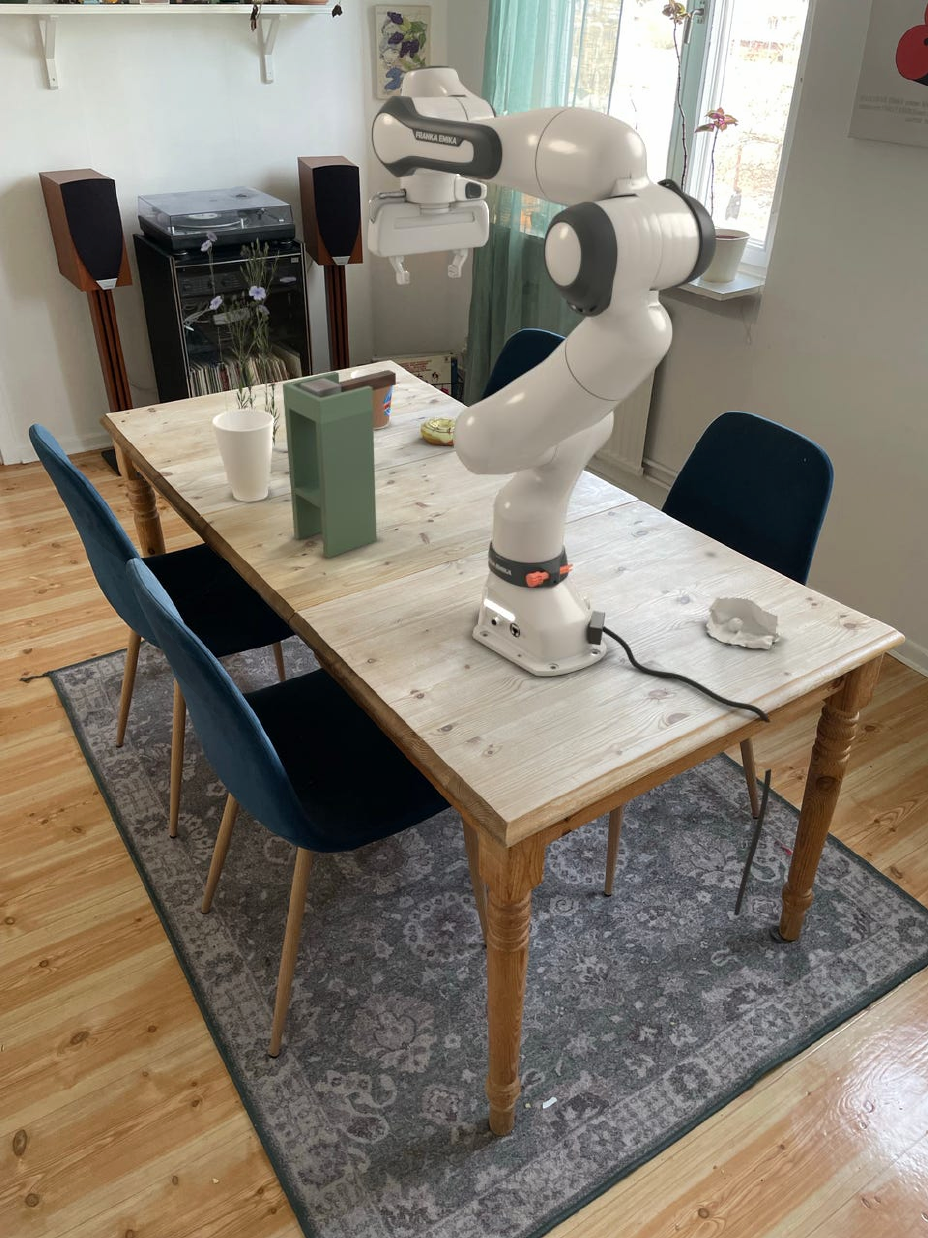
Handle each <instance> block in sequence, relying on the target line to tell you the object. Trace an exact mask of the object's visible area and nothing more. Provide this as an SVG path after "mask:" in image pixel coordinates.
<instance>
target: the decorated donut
mask: <svg viewBox="0 0 928 1238" xmlns="http://www.w3.org/2000/svg"><path fill="white" fill-rule="evenodd" d="M456 420H457V419H455V418H450V417H433V418H430V419H428V420H426V421H424V422H423V423H422V424H421V425H420V433H421V435H422V437H423V438H424V440H426V441H427V442H428V443H430V444H433V445H443V446H447V445H448V446H452V445H453V446H454V442H453V431H454V426H455V423H456Z"/></svg>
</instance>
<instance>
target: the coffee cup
mask: <svg viewBox="0 0 928 1238" xmlns="http://www.w3.org/2000/svg"><path fill="white" fill-rule="evenodd" d="M386 370H387V369H385V368H378V367H377V368H375V367H373V368H372V367H371V368H367V367H366V368H361V369H357V370H354V371H352V372H351V373H350V374H349V377H350V379H354V378H358V377H362V376H366V375H370V374H374V373H378V372H382V371H386ZM393 387H394V385H393V386H389V387H385V388H381V389H377V390H373V391H372V392H373V428H374V430H382V429H385V428H386V427H387V426H388V425H389V420H390V414H391V406H392V398H393V397H392V395H393Z"/></svg>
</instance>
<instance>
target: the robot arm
mask: <svg viewBox="0 0 928 1238" xmlns="http://www.w3.org/2000/svg"><path fill="white" fill-rule="evenodd" d="M371 144H372V149H373V151H374V154H375V156H376V158H377V159H378V160H379V163H381V165H382V166H383V167H384V168H385V169H386V170H387V171H388V172H389V173H390V174H392V176H394V177H395V178H399V179H400V182H399V183H400V188H398V189H397V188H396V189H390V190H383V189H382V190H378V191H376V193H375V194H373V195H372V196H371V198H370V199H369V201H368V205H367V206H368V207H367V208H368V217H369V220H368V227H367V228H368V229H367V248H368V250H369V251H370V253H371V254H372V255H374V256H376V257H379V258H388V257H389V262H390V264H391V266H392V267H393V270H394V271H395V272H396V274H395V275H396V277H395V278H396V283H397V284H398V285H400V286H404V285H409V284H410V283H411V279H410V277H411V272H409V271H407V270H405V269H404V267H403V265H402V263H404V261H405V260H404V259H405V256H408V255H416V254H425V253H434V252H443V251H444V252H445V251H453V253H454V254H455V256H454V259H453V261H452V264H449V265H447V277H448V278H451V279H459V278H461V276H462V267H463V265H464V264H465V261H466V259H467V258H468V256H469V254H468V253H469V249H473V248H482V247H484V246H485V245H486V243H487V242H488V241H489V236H490V217H489V215H490V214H489V207H488V203H486V201H485V200H484V199H485V198H486V197H487V193H488V188H487V185H486V184H485V183H483V182H486V183H489V184H491V185H495V186H499V187H502V188H506V189H509V190H513V191H515V192H519V193H522V194H524V195H528V196H530V197H533V198H536V199H539V200H542V201H544V202H545V201H546V202H549V203H552V204H555V205H559V206H563V207H566V208H564V209H562V210H561V211H559V212H557V213H556V214H555V215H554V216H553V217H552V218H551V220H550V222H549V223H548V226H547V228H546V232H545V235H544V239H543V245H542V259H543V264H544V268H545V272H546V274H547V276H548V278H549V280H550V282H551V284H552V286H553V287H554V288H555V290H556V292H557V293H558V294H559V296H560V297H561V298H562V299H564V300H565V302H566V305H567V307H569V308H570V309H571V310H572V311H573V312H574V313H575V314H578V315H580V316H582V317H584V318H583V319H582V321H581V322H580V323H579V324H578V325H577V326H576V327H574V329H573V330H572V331H571V332H570V333H569V334H568V335H567V336H566V338H564V340H563V341H561V342H560V344H559V345H558V346H557V347H556V348H554V350H553V351H552V352H551V353H550V354H549V355H548V357H546V358H545V359H544V360H542V362H540V363H538V364H537V365H535V366H534V367H533V368H530V370H528V371H526V372H524V373H523V374H522V375H520V376H519V377H516V379H514V380H513V381H511V382H510V383H508V384H507V385H505V386H504V387H503V388H501V389H499V390H498V391H496V392H495V393H493V394H492V395H489V396H487V397H486V398H484V399H482V400H480V401H479V402H476V403H474V404H471V405H470V406H468V407H466V408H464V409H462V410H461V411H460V412H459V414H458V416H457V418H456V419H455V420H456V423H455V426H454V431H453V442H454V444H453V447H454V451H455V453H456V456H457V458H458V459H459V461H460V463H461V464H462V466H464V467H465V468H466V469H467V470H468V471H469V472H470V473H473V474H474V475H479V476H480V475H483V476H485V475H486V476H495V475H496V476H497V475H511V474H514V476H513V477H512V478H511V479H510V480H509V481H508V482H506V484H505V485H503V486H502V487H501V489H500V490H499V491H498V493H497V494H496V497H495V499H494V502H493V515H492V537H491V541H490V542H489V547H488V551H487V559H488V561H487V562H488V563H487V566H488V569H489V573H488V576H487V577H486V578H487V579H486V581H485V584H484V586H483V588H482V594H481V600H480V607H479V613H478V614H479V615H478V621H477V624H476V625H475V626H474V628H473V630H472V638H473V639H474V640H475V641H477V642H479V643H480V644H482V645H483V646H485V647H487V648H488V649H491V650H492V651H494V652H495V653H497V654H499V655H501V656H502V657H503V658H505V659H507V660H508V661H510V662H512V663H514V664H516V665H517V666H519V667H521V668H522V669H524V670H525V671H527V672H529V673H530V674H532V675H533V676H536V677H556V676H562V675H566V674H570V673H573V672H577V671H579V670H582V669H585V668H587V667H589V666H592V665H594V664H595V663H598V661H600V660H601V659H603V658H604V657H605V656H606V654H607V651H608V647H607V644H606V643H605V642H604V641H603V634H605V635H606V636H608V637H610V638H611V639H613V640H614V641H615V642H617V643H618V645H620V646H621V647H622V649H624V651H625V653H626V655H627V658H628V660H629V662H630V664H631V665H632V666H633V667H634V668H635V669H637V670H638V671H640V672H641V673H644V674H647V675H651V676H654V677H657V678H658V677H659V678H666V679H671V680H676V681H679V682H682V683H685V684H687V685H689V686H691V687H693V688H695V689H697V690H698V691H700V692H702V693H703V694H705V695H707V696H708V697H710V698H711V699H712V700H715V701H716V702H719V703H720V704H723V705H725V706H727V707H731V708H735V709H741V710H747V711H750V712H753V713H754V714H756V715H757V716H759V718H760V719H761V720H762V722H764V723H769V724H770V723H771V720H770V718H769V717H768V715H767V714H766V713H765V712H764V711H763V710H762V709H761V708H760V707H757V706H756V705H752V704H750V703H744V702H738V701H733V700H730V699H727V698H725V697H723V696H721V695H719V694H717V693H715V692H714V691H712V690H710V689H708V688H707V687H706V686H704V685H703V684H700V683H699V682H697V681H695V680H693V679H692V678H689V677H687V676H684V675H681V674H678V673H673V672H667V671H659V670H654V669H650V668H648V667H645V666H643V665H642V664H641V663H639V662H638V661H637V660H636V659H635V656H634V654H633V651H632V650H631V649H632V648H631V647H630V646H629V644H628V643H627V642H626V641H625V640H624V639H623V638H622V637H620V636H619V635H618V634H616V633H615V632H614V631H612V630H611V629H609V628H608V627H606V626H605V620H606V619H605V618H606V612H605V611H597V610H593V611H592V612H591V611H590V609H591V602H590V599H589V598H588V597H587V596H582V595H581V594H580V592H579V591H578V589H577V587H576V585H575V583H574V581H573V580H572V578H571V577H570V573H569V572H572V571H573V568H572V567H573V566H574V565H573V563H568V555H567V552H566V547H565V545H564V539H565V530H566V522H567V515H568V509H569V504H570V500H571V497H572V495H573V492H574V490H575V488H576V485H577V484H578V481H579V479H580V477H581V476H582V473H583V472H584V470H585V468H586V467H587V465H588V464H589V462H590V461H591V460H592V458H593V457H594V455H595V454H596V453H597V452H598V451H599V450H600V449H601V448H603V446H604V445H606V443H607V442H608V441H609V440H610V438H611V435H612V433H613V429H614V424H615V423H614V421H615V417H614V411H615V410H616V408H618V406H620V405H622V404H623V402H624V401H626V400H627V399H628V398H629V397H630V396H631V395H632V394H633V393H634V392H636V390H638V388H640V387H641V386H642V384H643V383H644V382H646V380H647V379H648V378H649V377H650V376H651V374H652V373H653V372H654V371H655V370H656V368H657V367H658V366H659V364H660V363H661V362H662V360H663V358H664V357H665V355H666V354H667V353H668V350H669V349H670V347H671V344H672V340H673V324H672V320H671V318H670V316H669V313H668V311H667V309H666V308H665V306H663V304H661V302H660V301H659V294H660V291H662V290H665V289H677V288H680V287H683V286H685V285H688V284H690V283H692V282H693V281H696V280H697V279H699V278H700V277H701V276H702V275H703V274H705V272H707V270H708V269H709V267H710V266H711V264H712V262H713V260H714V257H715V253H716V249H717V233H716V227H715V224H714V220H713V219H712V215H710V213H709V211H708V209H707V208H706V207H705V206H704V204H702V203H701V202H700V201H699V200H698V199H696V198H695V197H694V196H693V195H690V194H688V193H686V192H685V191H684V190H683V189H682V188H681V186H680V185H679V184H678V183H677V182H676V181H675V180H673V179H672V178H665V179H661V180H659V181H657V182H655V181H654V180H653V179H652V178H651V177H650V174H649V151H648V148H647V144H646V142H645V140H644V137H643V136H642V135H641V133H640V132H639V131H638V130H637V129H636V128H634V127H633V126H632V125H631V124H628V123H626V122H625V121H623V120H621V119H619V118H617V117H614V116H612V115H610V114H607V113H604V112H601V111H597V110H594V109H590V108H584V107H579V106H569V105H566V106H565V105H564V106H549V107H543V108H537V109H531V110H524V111H521V112H515V113H511V114H506V115H500V116H499V115H498V113H497V111H496V109H495V108H494V106H493V105H492V104H491V103H490V102H489V100H487V99H486V98H481V97H479V96H478V95H476V94H474V93H473V92H471V91H470V90H468V88H466V87H465V86H464V85H463V84H462V82H461V81H460V78H459V75H458V71H457V70H456V69H454V68H453V67H451V66H447V65H427V66H418V67H414V68H411V69H410V70H409V71H407V72H406V73H405V74H404V76H403V81H402V87H401V94H400V95H391V96H390V97H389V98H388V99H387V100H386V101H385V102H384V103H383V105H381V107H380V108H379V110H378V112H377V114H376V115H375V117H374V120H373V122H372V127H371ZM471 178H472V179H471ZM474 179H477V180H480V181H483V182H479V181H477V180H474ZM584 311H586V312H584ZM571 568H572V569H571ZM771 777H772V769H771V768H770V769H767V770H765V771H764V781H763V789H762V796H761V802H760V806H759V812H758V817H757V821H756V825H755V829H754V833H753V836H752V840H751V844H750V848H749V852H748V855H747V858H746V863H745V866H744V870H743V873H742V876H741V877H742V878H741V881H740V885H739V889H738V893H737V896H736V901H735V906H734V910H733V915H734V916H736V917H737V916H739V915H740V912H741V907H742V904H743V899H744V896H745V895H744V894H745V891H746V886H747V883H748V879H749V875H750V873H751V868H752V863H753V861H754V858H755V853H756V851H757V847H758V843H759V839H760V836H761V832H762V828H763V824H764V820H765V815H766V811H767V805H768V800H769V795H770V787H771V779H772V778H771Z"/></svg>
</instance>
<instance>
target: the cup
mask: <svg viewBox="0 0 928 1238" xmlns="http://www.w3.org/2000/svg"><path fill="white" fill-rule="evenodd" d="M254 409H255V408H253V409H252V408H245V409H244V408H242V409H241V408H240V409H239V408H238V410H237V409H233V410H228V411H227V410H226V411H224V412H221V413H219V414H217V415H216V416H214V417H213V418H212V421H211V424H212V426H213V429H214V432H215V436H216V441H217V444H218V449H219V453H220V456H221V460H222V463H223V466H224V470H225V475H226V478H227V482H228V485H229V486H230V488H231V491H232V496H233V498H234V499H235V500H237V501H239V502H244V503H251V502H252V503H253V502H258V501H261V500H264V499H265V498H267V497H268V494H269V484H270V482H271V471H272V470H271V469H272V467H271V466H272V452H273V440H272V438H274V435H273V432H274V427H273V425H274V424H273V423H275V422H274V421H275V417H274V416H272V415H271V412H270V413H269V412H268V413H267V412H266V411H265V410H260V409H255V410H254ZM273 417H274V418H273Z"/></svg>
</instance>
